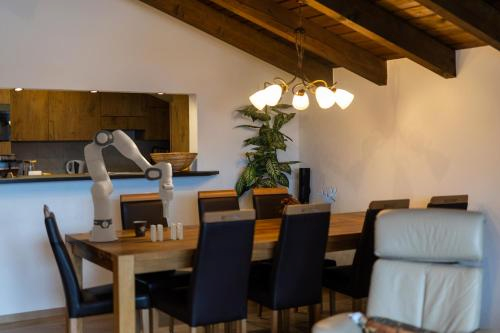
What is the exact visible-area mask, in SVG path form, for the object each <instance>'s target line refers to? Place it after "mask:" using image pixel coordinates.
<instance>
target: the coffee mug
mask: <svg viewBox="0 0 500 333" xmlns="http://www.w3.org/2000/svg"><path fill="white" fill-rule="evenodd" d="M147 225H149V227H148V228H147ZM133 228H134V234H135V238H145V237H146V232H147V231H149V230H150V229H151V223H150V222H147V220H144V221H143V220H136V221H133Z"/></svg>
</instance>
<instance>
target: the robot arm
mask: <svg viewBox="0 0 500 333" xmlns="http://www.w3.org/2000/svg"><path fill="white" fill-rule="evenodd" d="M92 139H93V141H92V142H91V143H89V144H87V145H86V146H84V149H83V150H84V159H85V162H86V167H87V171H88V174H89V176H90V178H91V179H92V182H93V184H92V185H91V187H90V191H89V192H90V195H91V198H92V203H93V226H92V228H91V229H90V230H89V235H90V236H89V237H88V242H94V243H95V242H96V243H97V242H98V243H101V242H103V243H105V242H113V241H117V240H119V238H118V237H116V229H115V228H116V227H115V226H114V225H113V221H114V220H113V218H112V215H113V214H112V205H111V202H110V196H111V195H112V194H113V192H114V184H113V183H112V181H111V179H110V175H109V174H108V172H107V168H106V165H105V164H106V163H105V161H104V157H103V153H102V150H103V149H105V148H107V147H108V146H109V145H111V146H113V147H115V149H117V151H118V152H119V153H120V154H122V156H124V157H125V158H127V159H130V160H132V161H133V162H134V163H135V164H136V165H137V166H138V167H139V168H140V169H141V170H142V172H143V174H144V177H145V179H146V180H148V181H149V182H155V181H158V199H159V200H161V203H162V204H163V202H166V207H170V202H171V201H174V189H175V185H174V183H173V179H172V177H173V169H172V164H171V163H170V162H168V161H164V160H163V161H162V160H161V161H159V162H158V163H156V164H154V165H152V164H151V163H149V161H147V159H146V158H145V157H144V156H143V155H142V154H141V152H140V150H139V148H138V146H137V145H136V144H135V142H134V141H133V139H131V137H130V136H128V135H127V134H126V133H125V132H124V131H122V129H117V130H114V131H113V132H111V131H109V130H108V131H107V130H105V129H104V130H103V129H101V130H98V131H96V132H95V133H94V135H93V138H92Z"/></svg>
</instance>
